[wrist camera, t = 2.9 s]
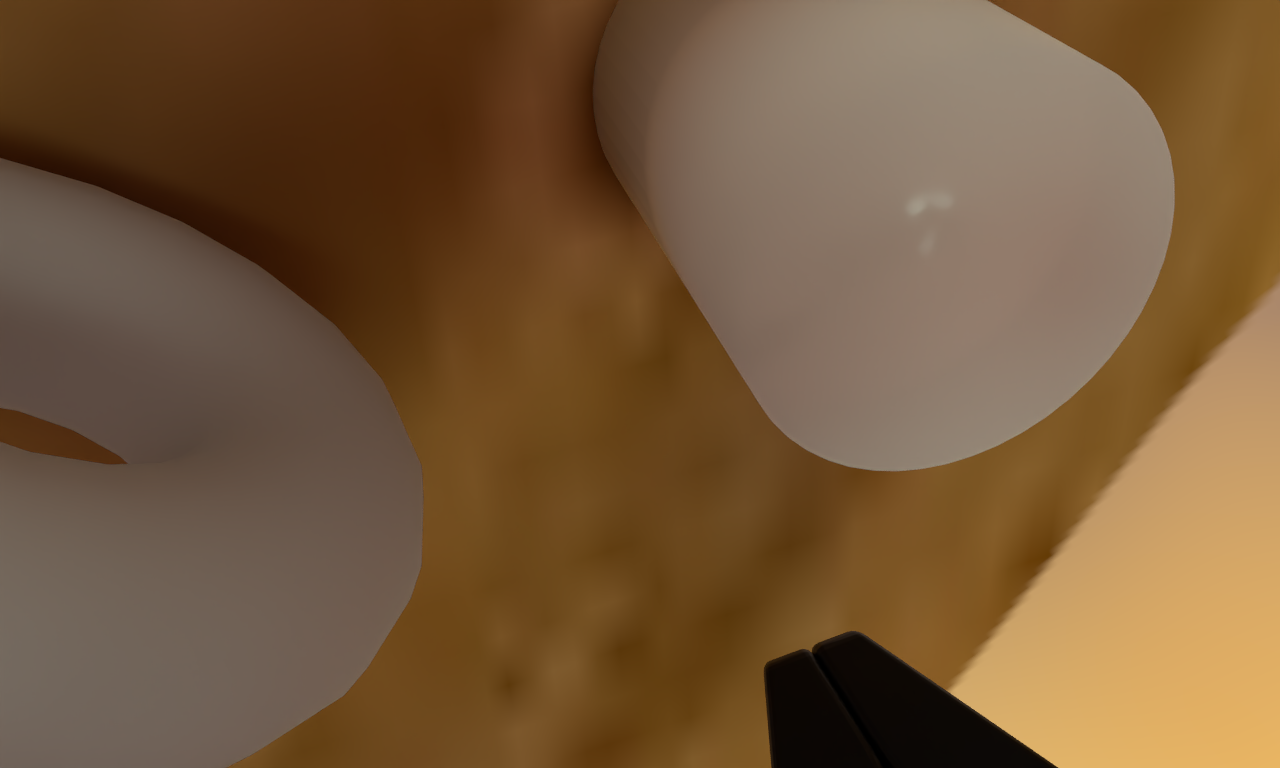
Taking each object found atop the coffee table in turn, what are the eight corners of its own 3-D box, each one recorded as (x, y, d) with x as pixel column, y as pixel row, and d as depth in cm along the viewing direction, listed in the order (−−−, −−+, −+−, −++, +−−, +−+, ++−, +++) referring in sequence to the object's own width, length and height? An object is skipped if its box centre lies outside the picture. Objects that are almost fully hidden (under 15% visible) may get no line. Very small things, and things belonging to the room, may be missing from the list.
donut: (422, 259, 20) (543, 716, 12) (340, 421, 21) (398, 933, 13) (-305, -11, 15) (-921, 446, 7) (-354, 219, 16) (-923, 826, 8)
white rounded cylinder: (924, 178, 22) (1163, 386, 16) (634, 276, 21) (776, 527, 16) (899, -143, 18) (1188, -22, 13) (554, -36, 18) (696, 140, 12)
